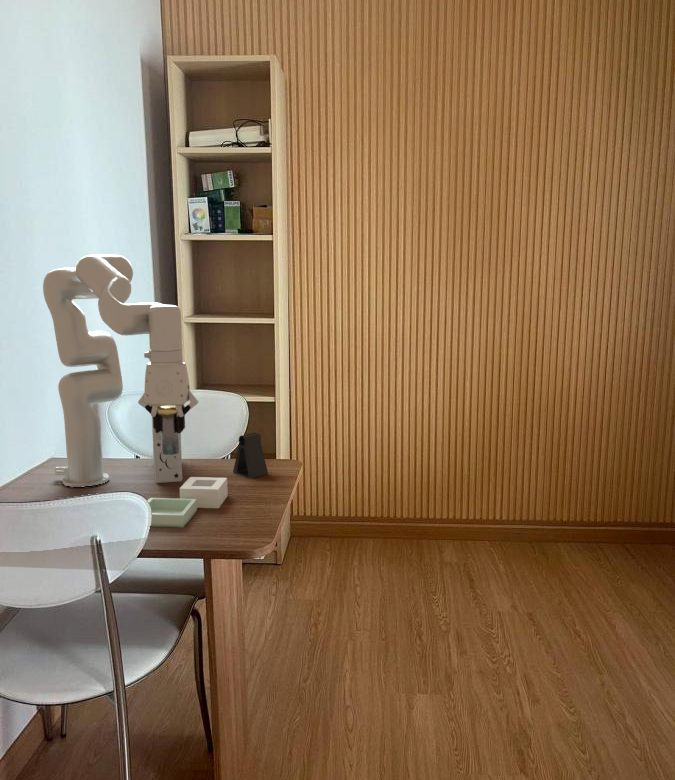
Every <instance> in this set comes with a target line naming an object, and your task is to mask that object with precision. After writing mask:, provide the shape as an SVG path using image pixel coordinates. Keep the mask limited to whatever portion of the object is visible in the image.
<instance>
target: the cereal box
mask: <svg viewBox="0 0 675 780" xmlns="http://www.w3.org/2000/svg"><path fill="white" fill-rule="evenodd" d="M152 406H153V405H152ZM161 406H167V405H161ZM177 415H178V414H177ZM151 429H152V431H151V432H152V450H153V451H152V453H153V455H152V456H153V468H154V469H153V470H154V471H153V472H154V482H155V484H164V483H180V482H183V464H182V463H183V462H182V437H181V436H182V435H181V433H182V432H181V433H178V437H179V453H177V454H173V455H165V454H163V453H162V436H161V431H160V432H159V433H156V432H155V429H154V428H153V417H152V416H151Z"/></svg>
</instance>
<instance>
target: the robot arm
mask: <svg viewBox="0 0 675 780" xmlns="http://www.w3.org/2000/svg"><path fill="white" fill-rule="evenodd" d="M133 277H134V269H133V266H132V264H131V262H130V261H129V260H128V259H127V258H126V257H124V256H123V255H119V254H88V255H85V256H82V257H81V258H80V259H78V261H77V262H76V264H75V267H62V268H56V269H52V270H51V271H49V272H48V273H47V274H45V277H44V279H43V283H42V292H43V298H44V300H45V303H46V305H47V308H48V310H49V313H50V315H51V318H52V322H53V329H54V335H55V342H56V346H57V352H58V357H59V360H60V363H61V364H62V365H63V366H65V367H67V368H77V367H78V368H79V367H87V366H95V365H96V367H97V369H92V370H91V369H89V370H83V371H82V370H80V371H74V372H70V373H67V374H65V375H64V376H62V377H61V379H60V380H59V382H58V386H57V388H58V393H59V397H60V402H61V406H62V412H63V420H64V432H65V433H64V435H65V450H66V466H55V468H54V473H55V475H56V476H64V478H62V485H63V484H64V485H63V486H65V487H67V486H70V487H69V488H73V487H82V486H89V485H90V486H91V485H97V484H101V483H104V484H106V483H107V481H108V480H109V481H110V475H109V474H108V473H107V472H104V460H103V445H102V443H103V442H102V426H101V423H102V422H101V419H100V416H99V415H98V413H97V412H96V411H95V410H94V409H93V407H92V406H93V405H96V404H101V403H102V404H103V403H108V402H114V401H117V400H118V399H119V398H121V396H122V394H123V389H124V387H123V386H124V385H123V378H122V377H123V376H122V371H121V365H120V359H119V351H118V346H117V344H116V341H115V339H114V337H113V336H112V335H111V334H110V333H109V332H106V331H104V330H96V331H92V330H91V331H89V330H88V326H87V321H86V315H85V314H84V312H83V310H82V309H81V308H80V307H79V305H77V303H75V302H74V301H73V300H92V299H93V300H94V299H97V307H98V312H99V316H100V318H101V320H102V322H103V323H104V324H106V325H107V326H108V328H109V329H111V330H112V331H113V332H115V333H116V334H118V335H120V336H136V335H148V337H149V350H148V351H146V352H145V351H144V352H143V356H144V357H143V358H144V359H145V358H146V359H148V360H149V362H147V363H146V367H145V375H144V391H143V392H144V393H143V394H142V395H141V397H140V398H139V400H138V401H137V403H138V405H140V406H142V408H144V409H145V410H146V411H147V412H148V413H149V414H150V417H151V418H152V417H153V428H154V429H155V432H156V433H159V432H160V431H161V416H160V414H157V408H158V407H160V406H161V405H169V406H176V408H177V412H178V417H177V418H176V422H177V433H182V432H184V430H185V428H186V421H185V420H186V417H185V415H186V414H187V413H189V411H190V410H191V409H192V408H194V407H195V406H197V405H198V404H199V400H198V399H197V398H196V396H195V395H194V393H193V392H192V391H191V387H190V386H191V385H190V377H189V372H188V368H187V367H188V366H187V363H186V362H185V361H183V355H184V354H183V332H182V329H183V328H182V311H181V308H180V307H179V306H178V305H176V304H175V305H174V304H164V303H160V302H137V303H136V302H135V303H125V302H127V301H128V299H129V298H130V296H131V293H132V284H131V282H132V280H133ZM187 402H189V403H188V404H187V405H186V406H185V404H186V403H187ZM152 405H153V406H152ZM109 481H108V482H109ZM105 482H106V483H105ZM101 485H102V484H101Z"/></svg>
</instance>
